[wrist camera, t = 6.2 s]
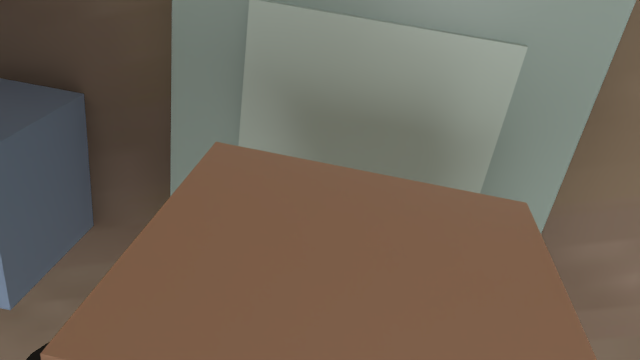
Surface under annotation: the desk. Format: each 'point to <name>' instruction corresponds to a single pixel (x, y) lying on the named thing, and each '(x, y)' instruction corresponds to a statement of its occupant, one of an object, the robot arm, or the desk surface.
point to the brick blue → (40, 183)
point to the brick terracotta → (326, 273)
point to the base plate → (396, 86)
